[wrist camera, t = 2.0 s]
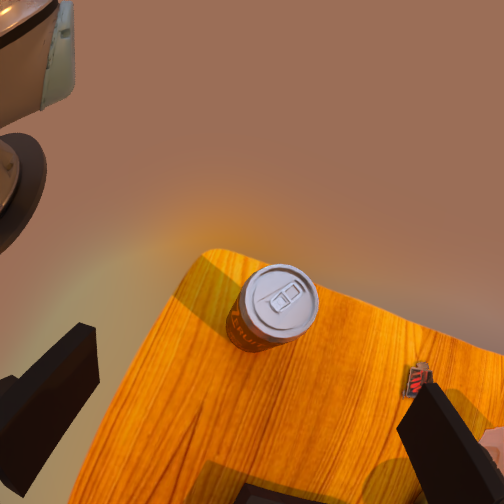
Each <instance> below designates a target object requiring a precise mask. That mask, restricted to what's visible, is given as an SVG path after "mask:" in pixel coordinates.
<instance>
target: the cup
mask: <svg viewBox="0 0 504 504" xmlns="http://www.w3.org/2000/svg"><path fill="white" fill-rule="evenodd" d="M478 443H480V444H481V445H482V446H483V447H484V448H485V449H486V450H488V452H489V454H490V455H491V457H492V458H493V461H495V463H496V465H497V468H499V469H500V471H501V473H502V474H503V476H504V427H496V428H495V429H488V430H485V432H484V435H483V436H482V438H481V439H480V441H479V442H478Z"/></svg>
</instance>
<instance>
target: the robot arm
mask: <svg viewBox="0 0 504 504" xmlns="http://www.w3.org/2000/svg"><path fill="white" fill-rule="evenodd" d="M74 51H75V49H74V10H73V2H72V1H62V2H61V3H60V4H59V3H58V0H0V128H2V127H4V126H6V125H8V124H10V123H12V122H14V121H16V120H18V119H21V118H22V117H25V116H27V115H29V114H31V113H34V112H36V111H38V110H40V111H42V110H44V108H45V107H47V106H49V105H52V104H54V103H56V102H58V101H61V100H63V99H64V98H66V97H67V96H69V95H70V93H71V92H72V90H73V88H74V85H75V52H74ZM21 177H22V165H21V161H20V159H19V157H18V155H17V154H16V152H15V151H14V150H13V149H12V148H11V147H10V146H9V145H8V144H6V143H5V142H3V141H2V140H0V218H1V217H2V216H3V215H4V214H5V212H6V211H7V209H8V208H9V206H10V205H11V203H12V201H13V199H14V197H15V195H16V193H17V191H18V188H19V185H20V182H21ZM99 383H100V379H99V369H98V358H97V344H96V328H95V327H92V326H89V325H86V324H83V323H80V322H79V323H78V324H77V325H76V326H74V327H73V328H72V329H71V330H70V331H69V332H68V333H67V334H65V336H63V337H62V338H61V339H60V340H59V341H58V342H57V343H56V344H55V345H54V346H52V347H51V348H50V349H49V350H48V351H47V352H46V353H45V354H44V355H43V356H42V357H41V358H40V359H39V360H38V361H37V362H36V363H34V364H33V365H32V366H31V367H30V368H29V369H28V370H27V371H26V372H25V373H24V374H23V375H22V376H21V377H20V378H19V379H18V378H16V377H15V376H13V375H10V376H8V377H5V378H3V379H1V380H0V480H1V482H2V483H3V484H4V485H5V486H6V487H7V488H9V489H10V490H12V491H13V492H15V493H16V494H18V495H19V496H21V497H22V498H24V496H25V494H26V493H27V491H28V489H29V488H30V486H31V484H32V483H33V481H34V480H35V478H36V476H37V475H38V473H39V472H40V470H41V469H42V467H43V465H44V464H45V462H46V461H47V459H48V458H49V456H50V455H51V453H52V452H53V450H54V449H55V447H56V446H57V444H58V442H59V441H60V439H61V438H62V436H63V435H64V433H65V432H66V431H67V429H68V428H69V426H70V425H71V423H72V422H73V420H74V419H75V417H76V416H77V414H78V413H79V411H80V410H81V408H82V407H83V406H84V404H85V403H86V401H87V400H88V398H89V397H90V396H91V394H92V393H93V391H94V390H95V388H96V387H97V385H98V384H99ZM396 429H397V432H398V434H399V436H400V438H401V440H402V443H403V445H404V447H405V450H406V452H407V454H408V456H409V459H410V461H411V463H412V466H413V468H414V470H415V473H416V475H417V478H418V480H419V482H420V485H421V487H422V490H423V492H424V495H425V497H426V500H427V502H428V504H504V476H503V474H502V473H501V471H500V469H499V468H497V465H496V463H495V461H493V458H492V457H491V455H490V454H489V452H488V450H486V449H485V448H484V447H483V446H482V445H481V444H480V443H478V442H477V441H476V439H475V438H474V436H473V434H472V433H471V431H470V430H469V428H468V427H467V425H466V424H465V422H464V421H463V420H462V418H461V417H460V415H459V414H458V412H457V411H456V409H455V408H454V406H453V405H452V404H451V402H450V401H449V399H448V398H447V396H446V395H445V394H444V392H443V391H442V389H441V388H440V387H439V385H438V384H437V383H423V385H422V387H421V388H420V390H419V392H418V394H417V395H416V397H415V399H414V401H413V402H412V404H411V406H410V407H409V409H408V411H407V412H406V414H405V416H404V417H403V419H402V420H401V422H400V423H399V425H398V427H397V428H396Z"/></svg>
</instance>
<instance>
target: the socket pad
mask: <svg viewBox="0 0 504 504" xmlns="http://www.w3.org/2000/svg"><path fill="white" fill-rule="evenodd" d="M233 504H326V503H321V502H316V501H311V500H306V499H302V498H298V497H293V496H289V495H285V494H282V493H278V492H274V491H271V490H267V489H264V488H260V487H257V486H254V485H251V484H248V483H245V484H244V486H243V487H242V489H241V491H240V493H239V494H238V496H237V498H236V500H235V501H234V503H233Z"/></svg>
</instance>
